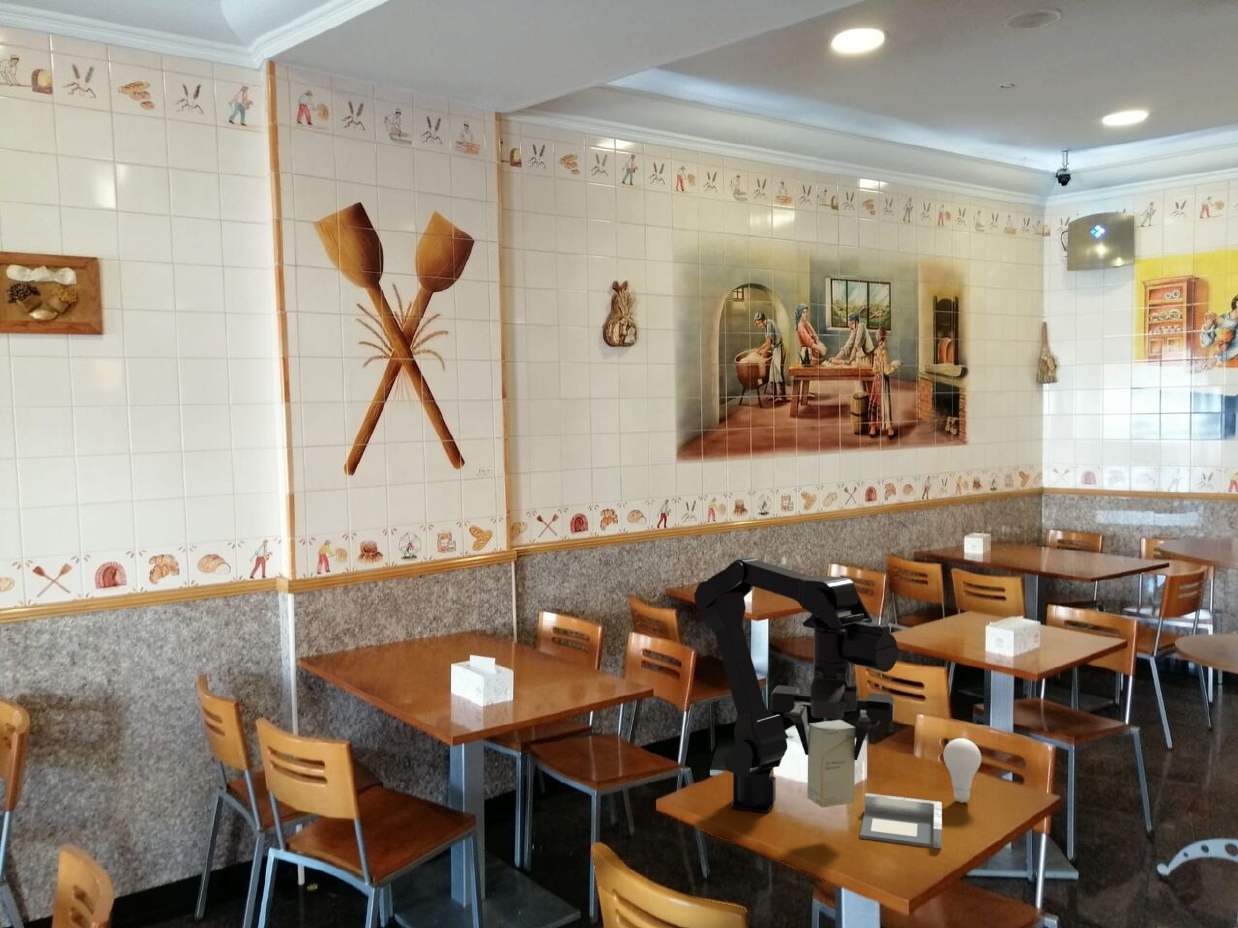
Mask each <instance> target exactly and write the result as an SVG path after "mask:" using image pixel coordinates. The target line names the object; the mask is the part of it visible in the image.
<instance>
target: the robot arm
mask: <svg viewBox="0 0 1238 928" xmlns="http://www.w3.org/2000/svg"><path fill="white" fill-rule="evenodd" d="M754 587H755V588H758V589H761V590H764V591H766V592H770V593H773V594H775V595H779V596H782V597H784V598H788V599H791V600H793V601H794V602H796V603H798V604H799V605H800V607H801V608H802V609H803V610H804V611H806V612H807V613H809V614H810V616H809V617H808V618H806V619H804V621H803V622H802V626H803V627H805V628H810V629H813V679H812V682H811V684H810V694H808V693H800V687H799V686H790V685H789V686H788V685H780V684H779V685H778V684H777V686H776V687H775V688H774V689H773V690H772V692H771V693H770V696H769V709H768V707H767V706H766V703H765V699H764V697H763V694H762V693H763V692H762V690H761V686H760V683H759V680H758V676H757V671H756V669H755V666H754V663H753V659H752V655H751V651H750V648H749V645H748V641H747V638H746V633H745V632H744V627H743V622H744V619H745V614H746V613H745V612H746V601H745V597H747V595H749V594H750V593H751V592H753V588H754ZM693 595H694V597H693V598H694V602H695V605H696V609H697V610H698V612H699V615H700V618H701V620H702V621H703V622H704V623H705V624H706V625H707V626H708V627H709V628H710V629H711V630H712V632H713V634H714V636H715V639H716V642H717V646H718V649H719V652H720V653H719V654H720V658H721V661H722V663H723V668H724V671H725V675H726V678H727V681H728V684H729V689H730V692H731V693H730V694H731V695H732V700H733V702H734V703H733V704H734V707H735V710H736V714H737V716H736V721H735V726H734V729H733V736H734V737H733V738H734V742H735V743H734V744H735V746H734V748H732V749H731V750H730V751H729V752H728V753H727V754H726V755H725V756H724V757H723V762H724V766H725V770H726V771H727V772H730V773H732V776H733V777H732V802H730V808H731V809H737V810H742V811H750V812H751V811H752V812H760V813H769V812H770V810H771V808H772V807H773V806H774V805H775V802H776V798H777V797H776V794H777V793H776V791H777V789H776V786H777V785H776V784H777V783H776V781H777V779H776V776H774V775H773V769H774V768H779V767H780V765H781V762H782V760H783V758H784V756H785V754H786V752H787V750H788V741H787V739H789V735H788V734H787V732H786V729H785V725H784V721H783V718H782V715H783V717H785V718H787V719H788V718H789V719H790V721H791V722H792V723H793V726H794V727H795V729H796V731H797V734H798V737H799V741H800V742H801V745H802V748H803V752H804V755H806V756H808V724H809V723H808V712H807V711H808V710H807V707H808V708H810V715H811V717H813V718H815V719H822V718H823V719H832V721H834V720H842V719H843V718H844V717H845V712H860V713H859V718H858V723H857V724H858V725H857V731H856V736H855V751H854V760H855V761H858V758H859V756H860V752H861V750H862V746H863V743H864V740H865V738H866V736H867V735H868V732H869V730H870V728H871V727H873V726H874V727H876V726H878V725H879V723H880V722H882V723H883V722H884V723H891V722H893V721H894V714H895V698H894V697H893V696H892V695H891V694H887V693H886V694H885V693H875V692H874V693H872V692H869V693H868V694H867V698H866V699H865V698H858V687H857V686H852V685H851V684H852V683H851V679H852V677H851V675H852V671H851V670H852V665H854V666H857V667H862V668H866V669H870V670H874V671H878V672H882V673H888V672H889V671H891V670H892V669H893V668H894V667H895V665H896V663H897V661H898V657H899V652H900V651H899V650H900V648H899V645H898V643H897V640H896V638H895V636H894V635H893V634H891V627H890V625H888V624H875V623H872V622H873V619H872V617H871V615H870V613H869V611H868V610H867V608H866V606H865V604H864V603H863V601H862V599H861V598H860V596H859V594H858V590H857V588H856V586H855V583H854V581H852V580H851V579H849V578H848V577H843V576H842V577H841V576H831V575H830V576H826V575H825V576H823V575H821V576H819V575H818V576H817V575H808V574H804V573H801V572H797V571H794V570H792V569H788V568H784V567H782V566H778V565H775V564H772V563H768V562H764V561H761V560H760V559H758V558H756V557H747V558H746V557H744V558H738V559H735V560H733V562H731V563H730V564H729V565H728V566H726V568H724V569H723V570H721V571H719V572H718V573H716V574H714V575H713V576H711V577H710V578H708V579H707V580H704V581H701V582H700V583H699V584H698V586H697V587H696V590H695V592H694V593H693ZM847 614H849V615H847ZM841 615H842V616H841ZM843 615H844V616H843ZM772 712H774V713H775V712H776V713H782V715H781V714H776V715H773V713H772Z"/></svg>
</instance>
